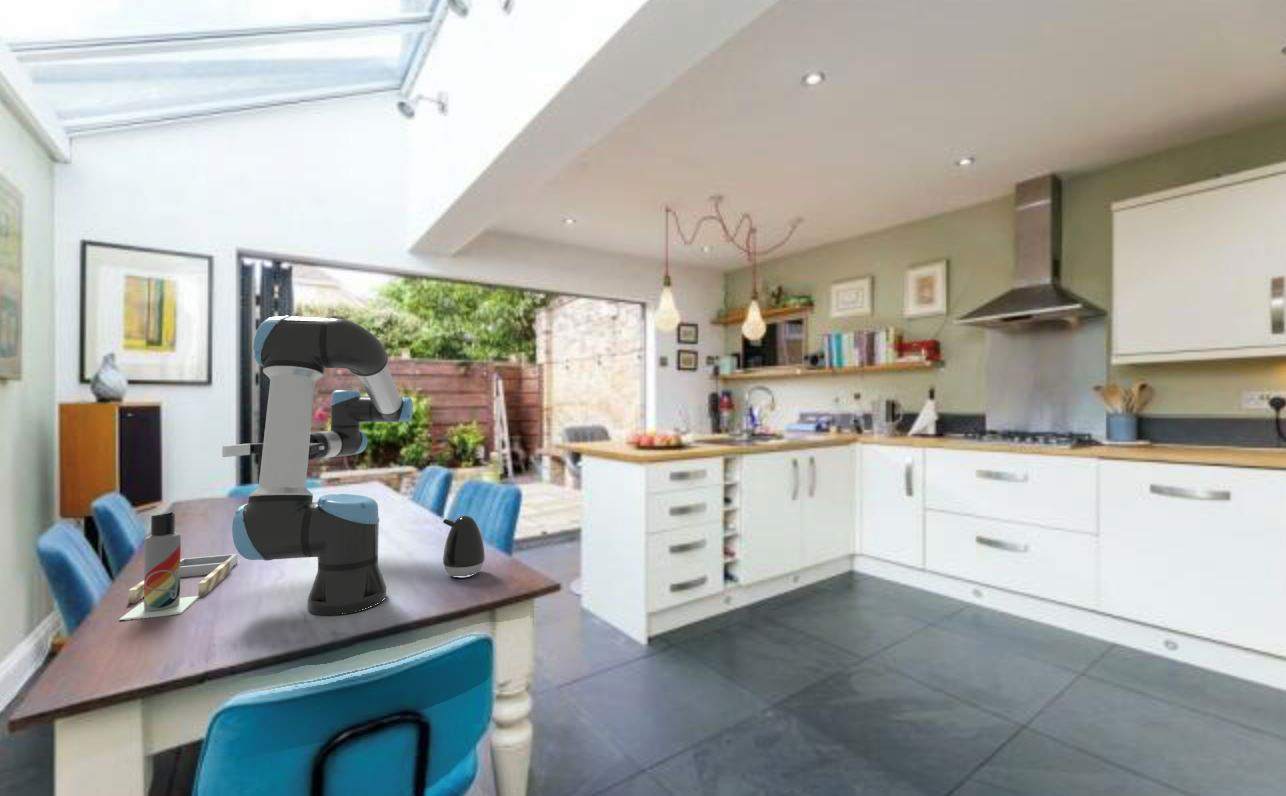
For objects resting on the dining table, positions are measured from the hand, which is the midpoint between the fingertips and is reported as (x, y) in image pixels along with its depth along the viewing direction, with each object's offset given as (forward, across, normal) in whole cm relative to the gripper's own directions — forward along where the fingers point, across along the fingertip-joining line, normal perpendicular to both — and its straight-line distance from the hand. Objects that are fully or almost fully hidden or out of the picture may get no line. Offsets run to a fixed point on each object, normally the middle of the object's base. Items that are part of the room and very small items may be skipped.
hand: (246, 452), depth 128 cm
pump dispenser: (-20, -46, -32) cm, 60 cm away
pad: (+15, +4, -32) cm, 36 cm away
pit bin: (-7, +21, -32) cm, 39 cm away
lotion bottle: (+15, +4, -32) cm, 36 cm away
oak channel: (+4, +13, -32) cm, 35 cm away
